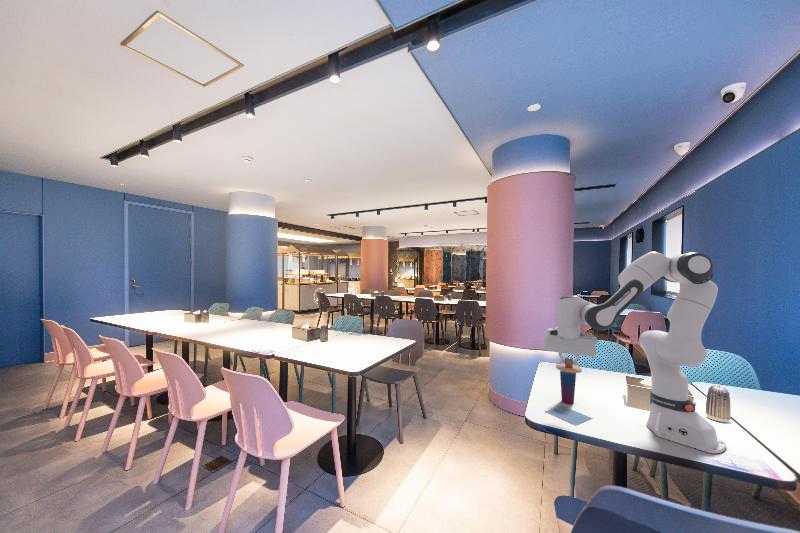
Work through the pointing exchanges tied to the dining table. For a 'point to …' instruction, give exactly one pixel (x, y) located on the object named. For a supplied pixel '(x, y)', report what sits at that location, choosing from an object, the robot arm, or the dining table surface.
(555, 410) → the mat
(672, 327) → the robot arm
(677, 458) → the dining table surface
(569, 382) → the cup
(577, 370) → the lid
